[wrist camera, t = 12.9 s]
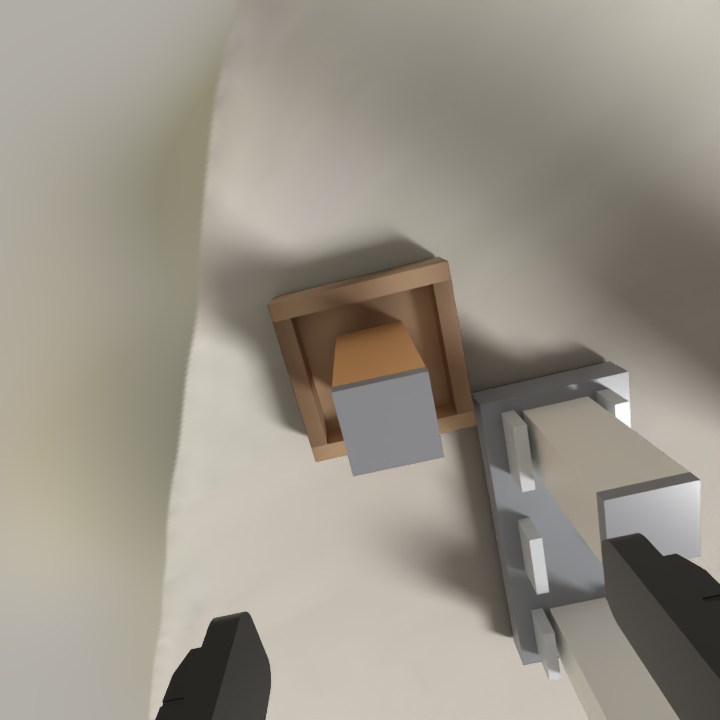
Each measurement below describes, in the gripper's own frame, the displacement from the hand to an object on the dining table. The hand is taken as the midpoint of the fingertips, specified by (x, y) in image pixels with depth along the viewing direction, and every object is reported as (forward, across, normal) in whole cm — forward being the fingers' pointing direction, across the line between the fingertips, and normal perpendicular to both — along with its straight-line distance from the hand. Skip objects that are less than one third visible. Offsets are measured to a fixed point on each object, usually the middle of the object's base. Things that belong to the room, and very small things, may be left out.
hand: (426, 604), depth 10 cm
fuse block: (+19, -10, +15) cm, 26 cm away
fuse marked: (+18, 0, 0) cm, 18 cm away
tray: (+19, 0, 0) cm, 19 cm away
